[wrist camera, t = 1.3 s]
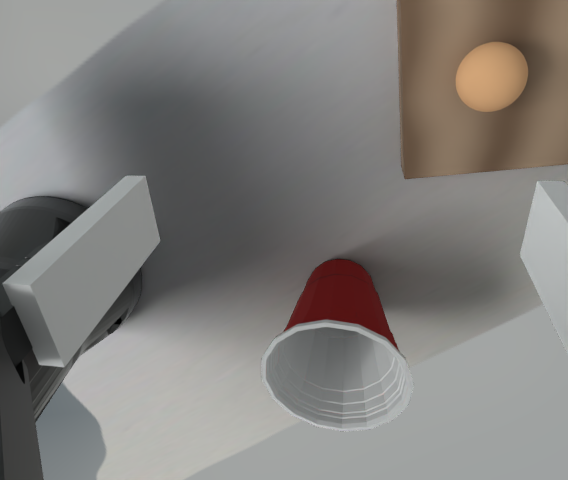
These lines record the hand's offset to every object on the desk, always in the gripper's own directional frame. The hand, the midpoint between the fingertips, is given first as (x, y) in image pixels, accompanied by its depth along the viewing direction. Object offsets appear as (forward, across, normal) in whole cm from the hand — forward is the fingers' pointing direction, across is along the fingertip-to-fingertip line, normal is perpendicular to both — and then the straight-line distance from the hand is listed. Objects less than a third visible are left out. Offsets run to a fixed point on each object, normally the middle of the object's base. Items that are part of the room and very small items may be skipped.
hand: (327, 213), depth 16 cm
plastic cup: (+21, +1, +18) cm, 27 cm away
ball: (+16, -8, -1) cm, 19 cm away
